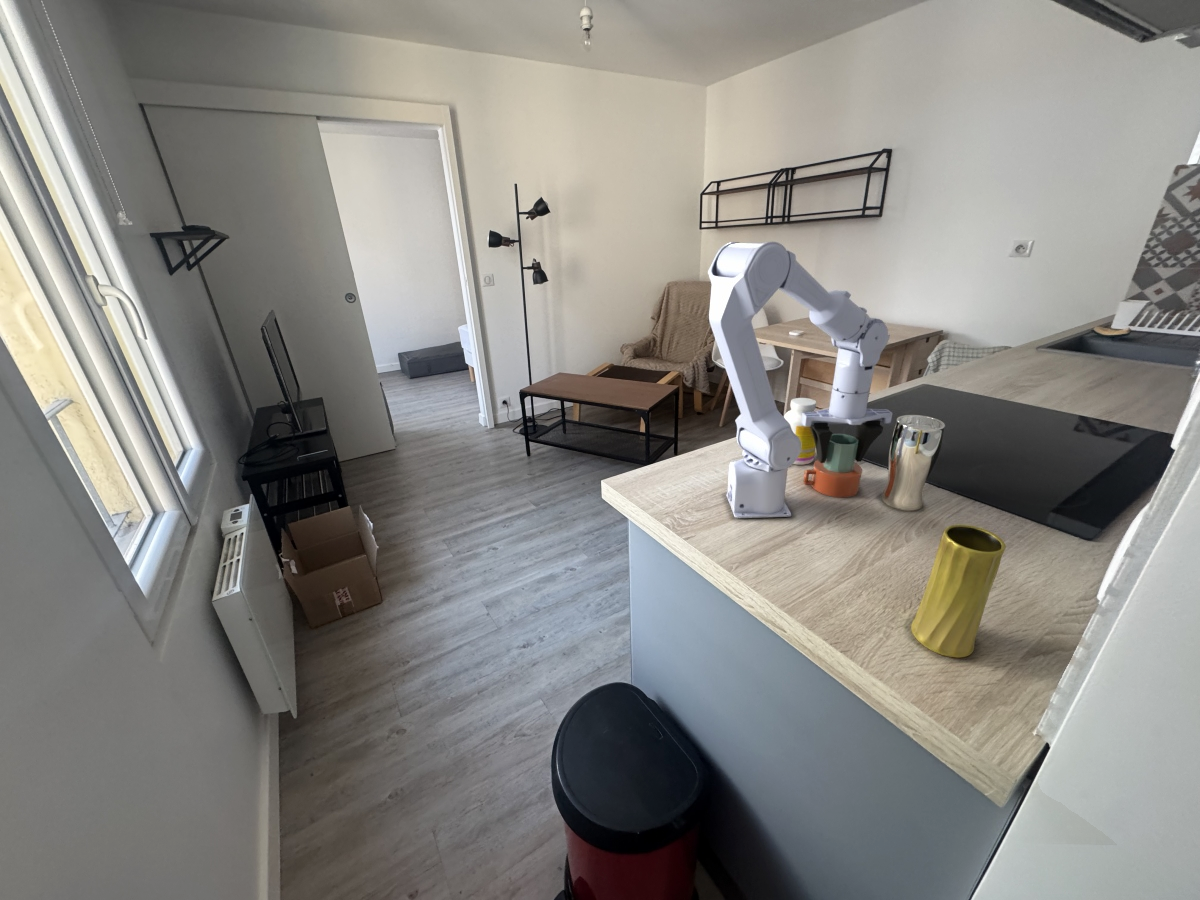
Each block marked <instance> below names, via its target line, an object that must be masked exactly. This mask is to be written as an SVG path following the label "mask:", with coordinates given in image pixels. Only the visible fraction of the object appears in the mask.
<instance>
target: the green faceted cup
mask: <svg viewBox="0 0 1200 900" xmlns="http://www.w3.org/2000/svg"><path fill="white" fill-rule="evenodd" d="M855 437H856V436H852V435H850V434H847V433H833V434H832V436H831V438H830V441H829V444H828V448H827V455H826V461H825V463H823V466H824V467H825V468H826V469H828V470H830V471H833V472H838V473H847V472H851V471H852V470H853V468H854V463H856V460H855V458H856V452H857V447H858V439H857V438H855Z"/></svg>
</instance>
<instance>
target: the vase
mask: <svg viewBox="0 0 1200 900" xmlns="http://www.w3.org/2000/svg"><path fill="white" fill-rule="evenodd" d="M938 545H939V546H938V548H937V551H936V554H935V558H934V561H933V565H932V568H931V571H930V573H929V578H928V580H927V583H926V586H925V589H924V592H923V596H922V598H921V600H920V603H919V605H918V609H917V612H916V614H915V617H914V619H913V620H912V622H911V625H910V628H911V629H910V630H911V633H912V635H913V636H914V638H915V639H916V640H917V641H918V642H919V643H920V644H921V645H922V646H924V647H925V648H926V649H928V650H930V651H931V652H934V653H936V654H939V655H941V656H944V657H949V658H956V659H957V658H965V657H968V656H970V655H971V654H972V653H973V652H974V650H975V641H976V637H977V634H978V631H979V628H980V624H981V621H982V618H983V615H984V612H985V607H986V605H987V602H988V600H989V595H990V593H991V590H992V587H993V585H994V582H995V579H996V576H997V574H998V571H999V568H1000V565H1001V561H1002V558H1003V555H1004V553H1005V551H1006V543H1005V542H1004V541H1003V539H1002V538H1001V537H1000V536H999V535H997V534H995V533H994V532H992V531H990V530H987V529H985V528H983V527H980V526H975V525H971V524H951V525H948V526H947V527H946V528H945V529H944V530H943V533H942V536H941V538H940V543H939V544H938Z"/></svg>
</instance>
